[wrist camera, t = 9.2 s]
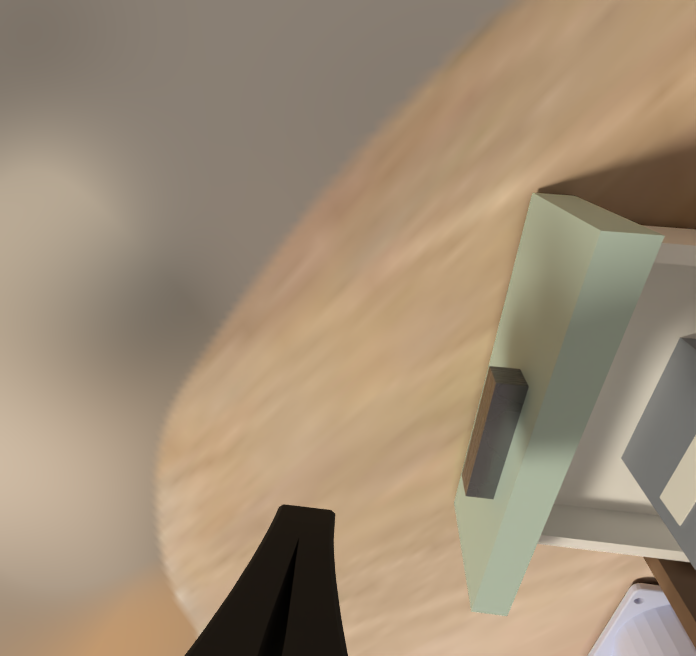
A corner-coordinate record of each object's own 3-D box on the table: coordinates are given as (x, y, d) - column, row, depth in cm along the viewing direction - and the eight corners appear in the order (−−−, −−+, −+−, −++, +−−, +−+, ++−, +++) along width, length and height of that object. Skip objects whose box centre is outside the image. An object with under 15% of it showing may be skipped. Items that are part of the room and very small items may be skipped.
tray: (730, 535, 20) (829, 658, 16) (434, 500, 21) (445, 608, 17) (959, 223, 13) (1261, 282, 9) (502, 190, 14) (555, 227, 9)
